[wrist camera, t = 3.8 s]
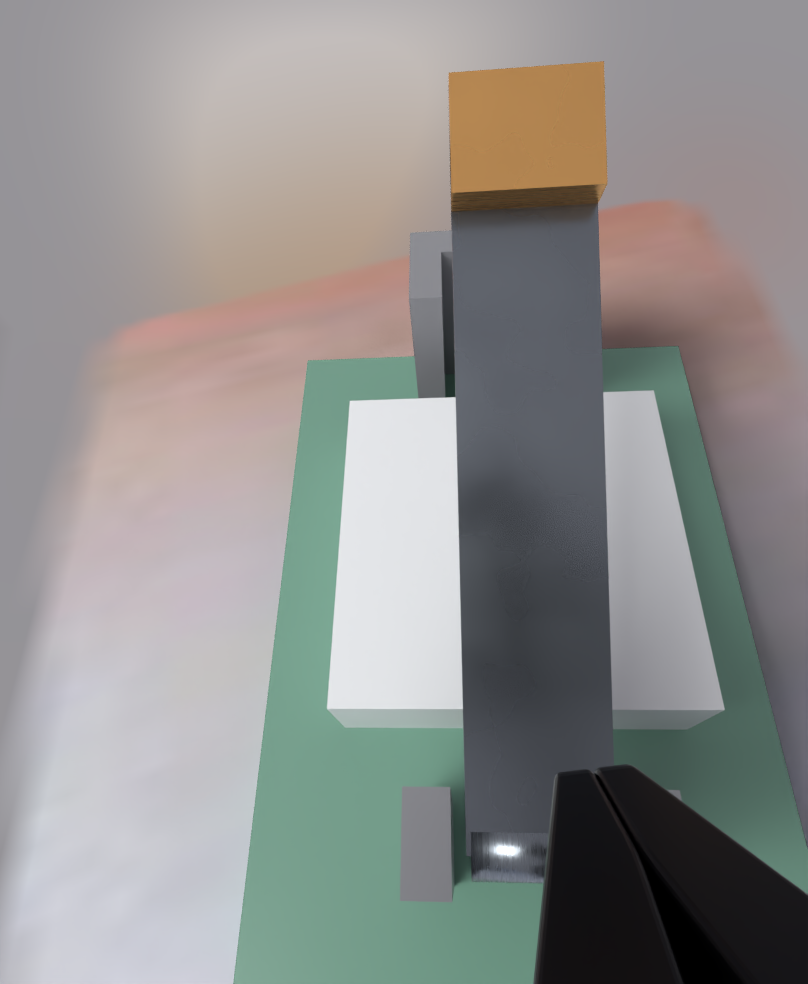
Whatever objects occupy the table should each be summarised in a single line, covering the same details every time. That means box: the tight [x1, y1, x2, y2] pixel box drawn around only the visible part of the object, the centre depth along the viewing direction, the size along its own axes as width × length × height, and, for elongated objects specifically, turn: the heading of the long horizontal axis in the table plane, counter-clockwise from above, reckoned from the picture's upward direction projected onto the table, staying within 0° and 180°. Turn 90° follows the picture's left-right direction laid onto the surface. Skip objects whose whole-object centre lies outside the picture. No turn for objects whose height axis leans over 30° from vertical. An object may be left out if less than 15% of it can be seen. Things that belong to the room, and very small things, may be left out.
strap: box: [449, 61, 614, 884], centre depth 13 cm, size 17×3×2 cm, turn 179°
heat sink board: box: [233, 231, 808, 984], centre depth 19 cm, size 21×15×8 cm
